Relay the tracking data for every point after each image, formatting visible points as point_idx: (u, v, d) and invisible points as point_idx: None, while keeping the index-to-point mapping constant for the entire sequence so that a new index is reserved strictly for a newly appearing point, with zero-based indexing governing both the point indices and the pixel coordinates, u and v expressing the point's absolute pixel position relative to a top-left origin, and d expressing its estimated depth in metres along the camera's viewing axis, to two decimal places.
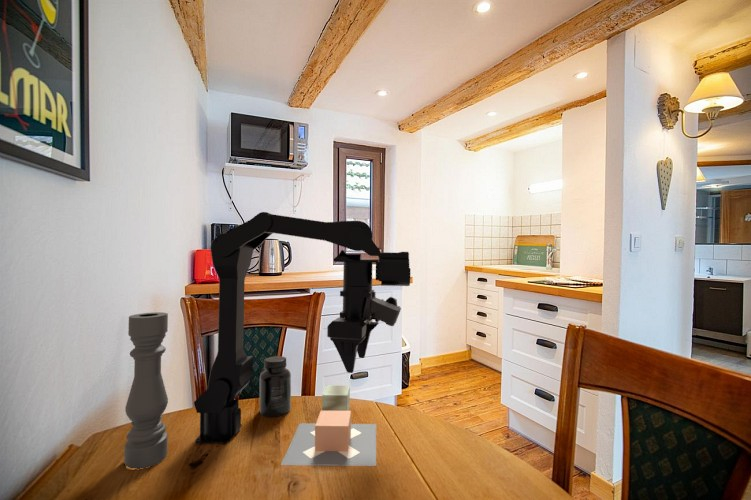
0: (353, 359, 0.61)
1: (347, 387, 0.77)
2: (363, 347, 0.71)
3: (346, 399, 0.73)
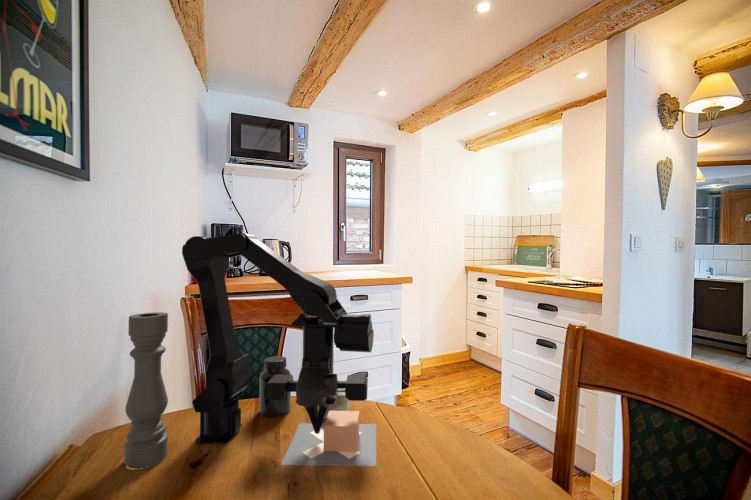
0: None
1: None
2: None
3: (346, 399, 0.73)
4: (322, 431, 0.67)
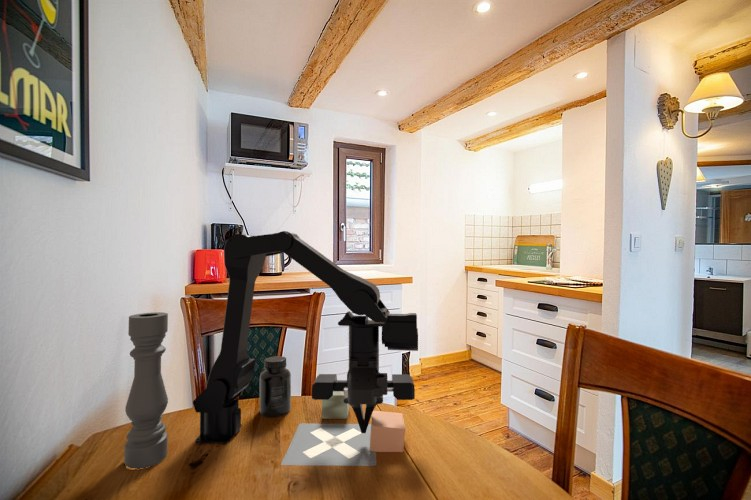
0: (357, 419, 0.62)
1: None
2: (364, 421, 0.63)
3: None
4: (322, 431, 0.67)
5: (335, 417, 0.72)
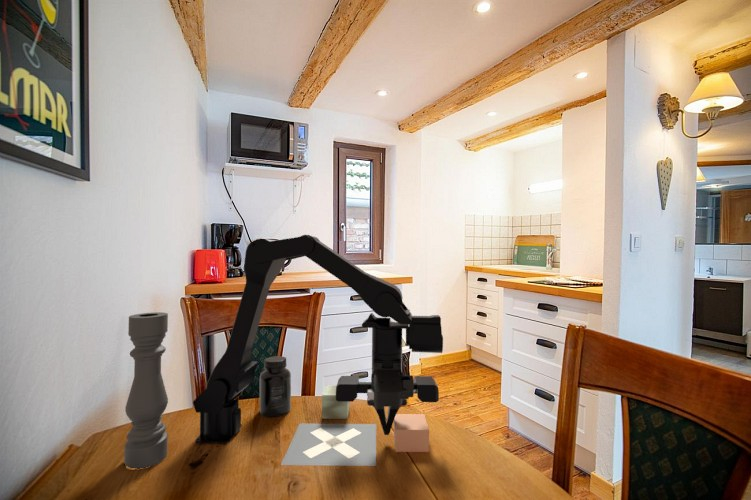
0: (380, 421, 0.62)
1: None
2: (387, 423, 0.63)
3: None
4: (322, 431, 0.67)
5: (335, 417, 0.72)
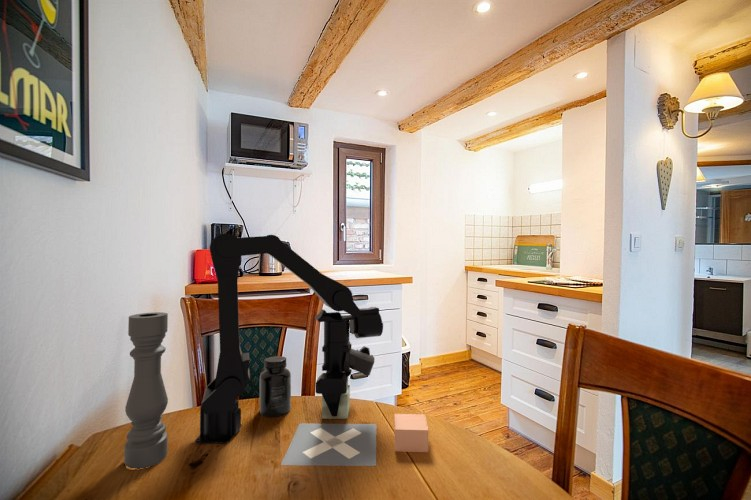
0: (338, 405, 0.71)
1: None
2: None
3: (346, 399, 0.73)
4: (322, 431, 0.67)
5: (335, 417, 0.72)
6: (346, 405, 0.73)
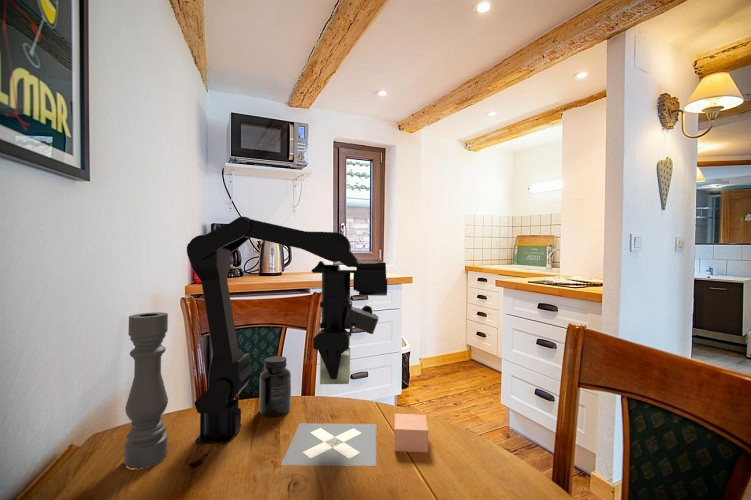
0: (338, 366, 0.63)
1: (348, 349, 0.69)
2: None
3: (347, 359, 0.65)
4: (322, 431, 0.67)
5: (335, 380, 0.64)
6: (347, 367, 0.65)
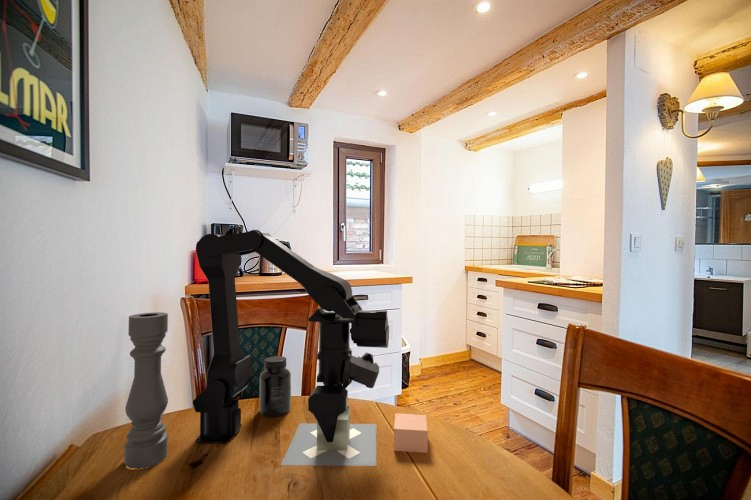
0: (334, 429, 0.58)
1: (347, 408, 0.65)
2: None
3: (346, 424, 0.61)
4: None
5: (333, 446, 0.61)
6: (346, 432, 0.61)
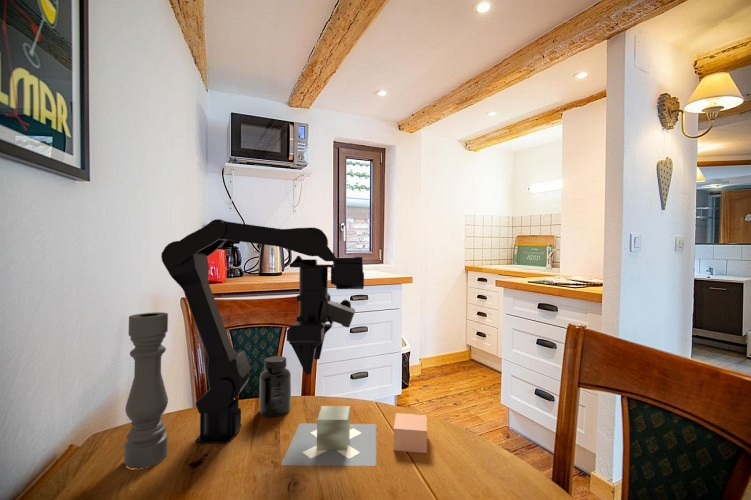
0: (311, 361, 0.63)
1: (347, 408, 0.65)
2: (318, 349, 0.73)
3: (346, 424, 0.61)
4: None
5: (333, 446, 0.61)
6: (346, 432, 0.61)
